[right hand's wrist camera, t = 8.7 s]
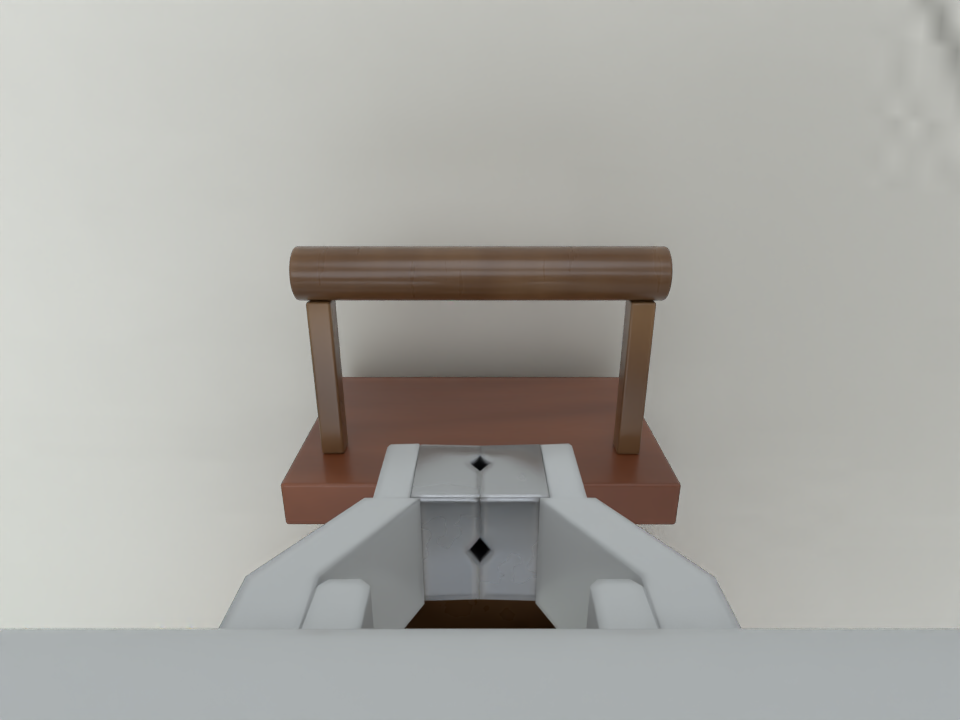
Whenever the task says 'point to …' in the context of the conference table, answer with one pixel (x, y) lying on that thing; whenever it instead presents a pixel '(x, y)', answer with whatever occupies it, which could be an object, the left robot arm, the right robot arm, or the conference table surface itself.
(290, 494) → the drawer
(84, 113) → the conference table surface
